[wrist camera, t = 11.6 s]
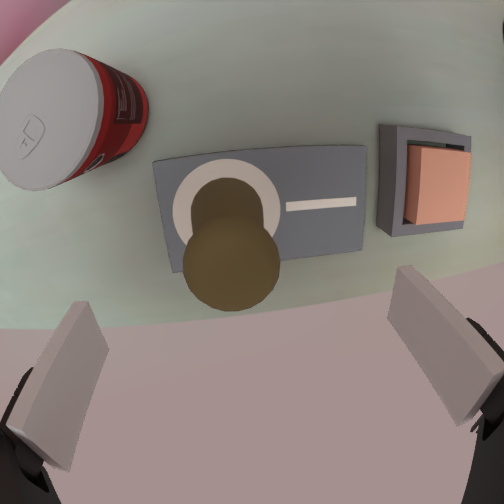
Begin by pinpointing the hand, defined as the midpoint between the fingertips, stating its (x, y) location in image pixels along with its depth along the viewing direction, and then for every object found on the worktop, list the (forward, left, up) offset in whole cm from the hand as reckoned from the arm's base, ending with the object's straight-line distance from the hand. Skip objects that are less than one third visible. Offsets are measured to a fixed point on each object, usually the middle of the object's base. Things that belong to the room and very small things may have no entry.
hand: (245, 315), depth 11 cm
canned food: (+10, -10, -15) cm, 20 cm away
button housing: (-19, -2, -15) cm, 24 cm away
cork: (0, 0, -14) cm, 14 cm away
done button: (-19, -2, -13) cm, 23 cm away
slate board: (-3, 0, -15) cm, 15 cm away
